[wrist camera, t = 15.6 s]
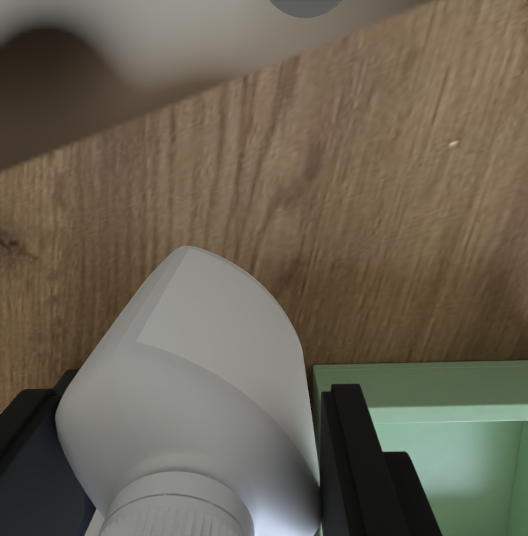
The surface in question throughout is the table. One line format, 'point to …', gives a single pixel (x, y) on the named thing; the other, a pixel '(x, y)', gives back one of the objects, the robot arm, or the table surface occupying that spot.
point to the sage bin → (450, 435)
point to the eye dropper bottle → (195, 410)
